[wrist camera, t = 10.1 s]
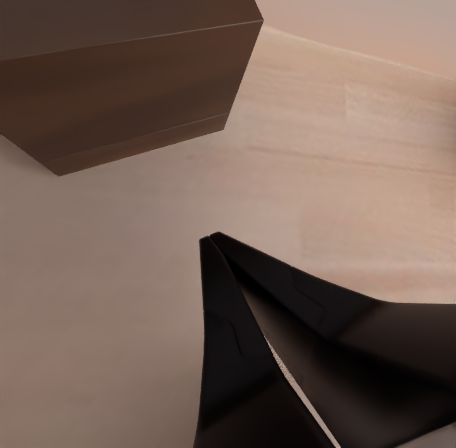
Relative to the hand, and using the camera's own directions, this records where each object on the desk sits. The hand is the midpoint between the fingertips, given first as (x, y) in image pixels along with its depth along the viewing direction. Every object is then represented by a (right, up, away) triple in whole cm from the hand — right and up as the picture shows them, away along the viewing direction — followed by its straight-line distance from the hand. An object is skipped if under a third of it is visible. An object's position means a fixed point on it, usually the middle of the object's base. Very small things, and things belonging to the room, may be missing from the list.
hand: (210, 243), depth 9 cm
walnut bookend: (-8, +12, +11) cm, 18 cm away
